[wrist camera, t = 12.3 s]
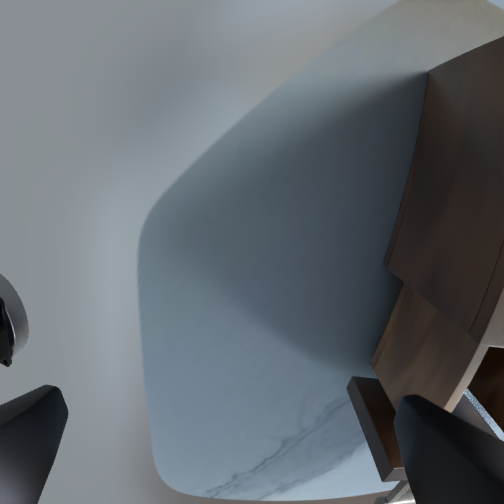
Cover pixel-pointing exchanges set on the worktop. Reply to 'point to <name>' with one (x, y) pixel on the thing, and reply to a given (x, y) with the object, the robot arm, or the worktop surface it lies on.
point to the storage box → (458, 197)
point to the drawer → (423, 381)
